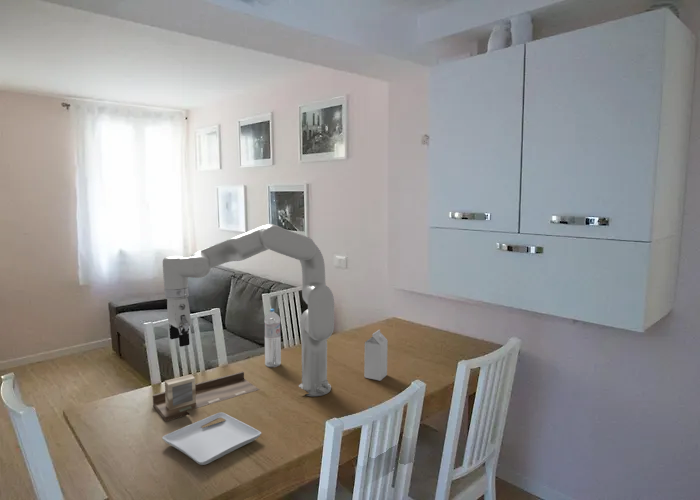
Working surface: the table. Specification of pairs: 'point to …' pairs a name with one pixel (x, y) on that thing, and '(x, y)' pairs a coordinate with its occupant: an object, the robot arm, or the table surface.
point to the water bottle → (272, 340)
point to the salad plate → (211, 438)
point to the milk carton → (376, 357)
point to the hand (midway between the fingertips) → (179, 341)
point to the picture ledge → (206, 394)
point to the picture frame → (180, 392)
